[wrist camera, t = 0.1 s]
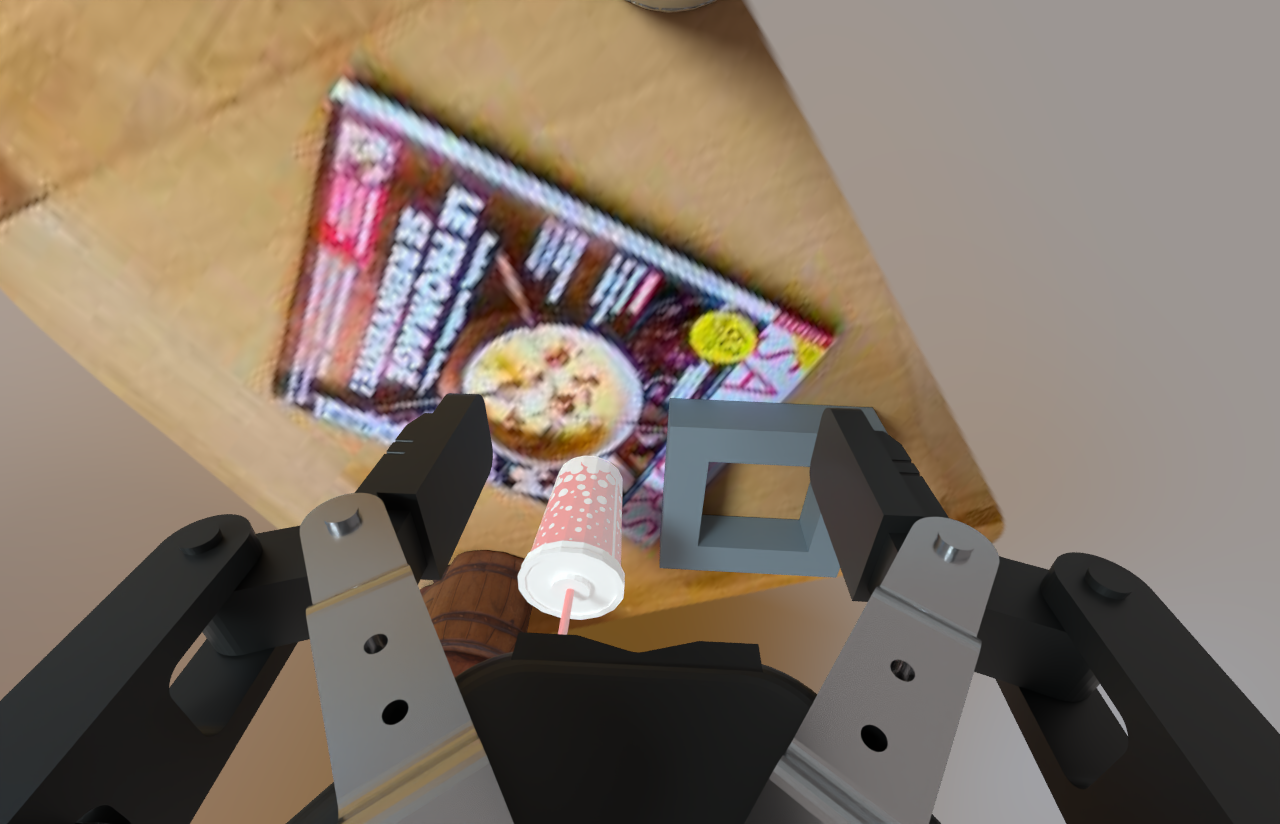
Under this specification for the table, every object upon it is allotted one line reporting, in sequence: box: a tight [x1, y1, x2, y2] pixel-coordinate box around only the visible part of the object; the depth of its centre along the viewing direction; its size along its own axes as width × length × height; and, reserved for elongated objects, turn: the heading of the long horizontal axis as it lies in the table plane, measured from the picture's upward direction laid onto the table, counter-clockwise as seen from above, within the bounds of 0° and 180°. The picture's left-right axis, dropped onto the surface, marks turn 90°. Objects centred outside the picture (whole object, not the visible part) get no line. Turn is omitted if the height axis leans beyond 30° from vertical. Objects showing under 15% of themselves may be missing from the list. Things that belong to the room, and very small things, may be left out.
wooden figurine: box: [420, 550, 532, 678], centre depth 36 cm, size 12×6×18 cm, turn 132°
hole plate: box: [660, 398, 888, 577], centre depth 35 cm, size 13×13×3 cm
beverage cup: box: [518, 456, 625, 635], centre depth 31 cm, size 6×6×14 cm
